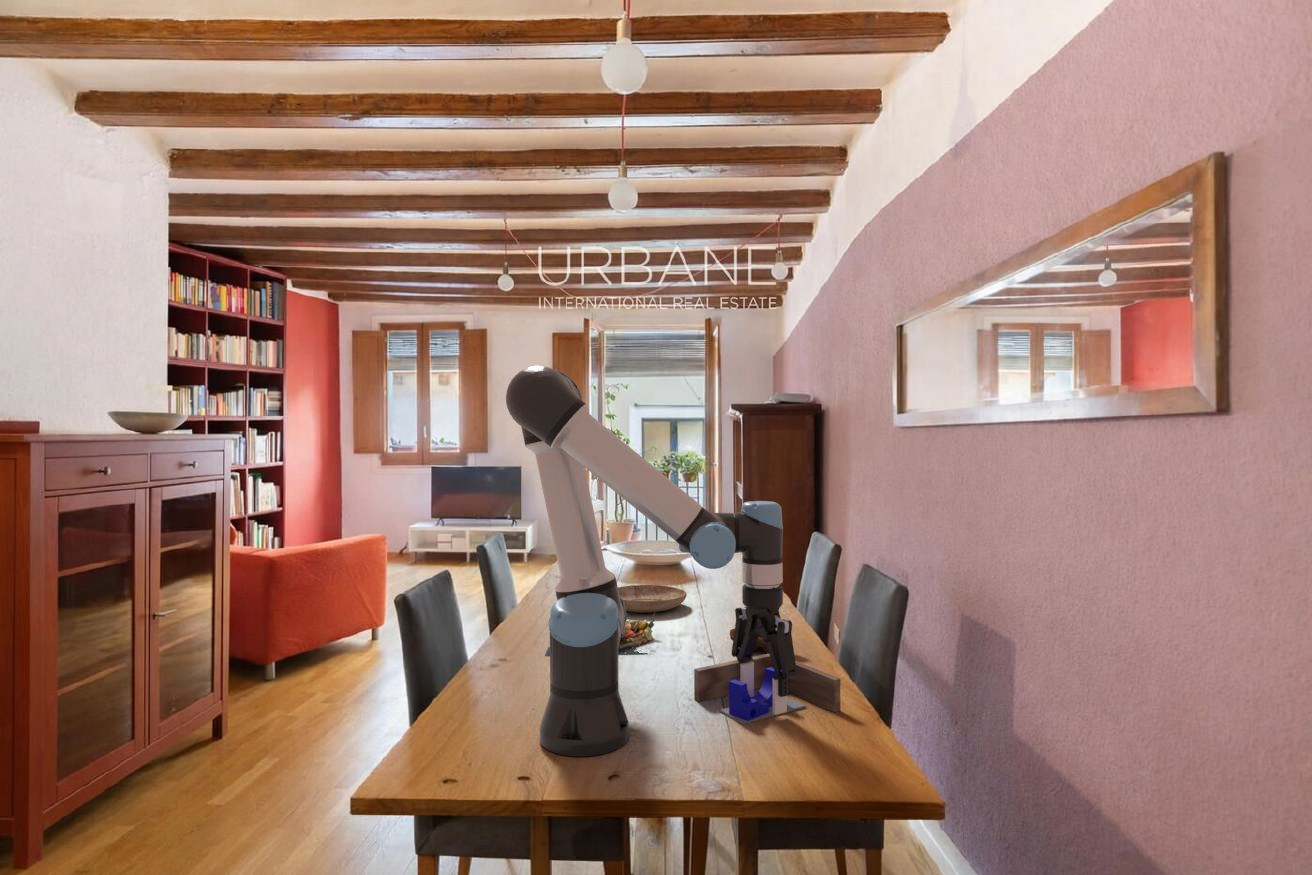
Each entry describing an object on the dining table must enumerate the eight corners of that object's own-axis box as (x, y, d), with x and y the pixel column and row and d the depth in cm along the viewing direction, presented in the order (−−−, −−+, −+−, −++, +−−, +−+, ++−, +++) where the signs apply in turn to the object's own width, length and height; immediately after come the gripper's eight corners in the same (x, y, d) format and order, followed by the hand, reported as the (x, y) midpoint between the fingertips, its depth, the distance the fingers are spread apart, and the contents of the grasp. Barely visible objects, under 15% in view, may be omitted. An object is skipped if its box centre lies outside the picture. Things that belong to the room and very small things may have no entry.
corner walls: (756, 733, 127) (756, 699, 127) (694, 699, 144) (694, 668, 144) (840, 710, 138) (840, 678, 138) (773, 681, 154) (773, 652, 154)
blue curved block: (748, 720, 132) (747, 687, 132) (729, 713, 135) (729, 681, 135) (789, 704, 140) (789, 672, 140) (770, 697, 143) (770, 666, 143)
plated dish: (673, 628, 199) (673, 601, 198) (684, 662, 171) (684, 631, 170) (542, 632, 196) (542, 605, 196) (531, 667, 168) (531, 636, 168)
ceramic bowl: (687, 618, 206) (687, 600, 206) (603, 618, 207) (603, 600, 207) (685, 599, 230) (685, 583, 230) (610, 599, 230) (610, 583, 230)
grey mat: (742, 724, 131) (742, 722, 131) (719, 711, 137) (719, 709, 137) (805, 707, 139) (805, 705, 139) (781, 696, 145) (781, 694, 145)
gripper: (817, 592, 131) (818, 719, 131) (742, 572, 149) (743, 684, 150) (785, 597, 127) (786, 728, 127) (712, 576, 145) (713, 691, 146)
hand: (763, 704), depth 138 cm, fingers open, 9 cm apart
